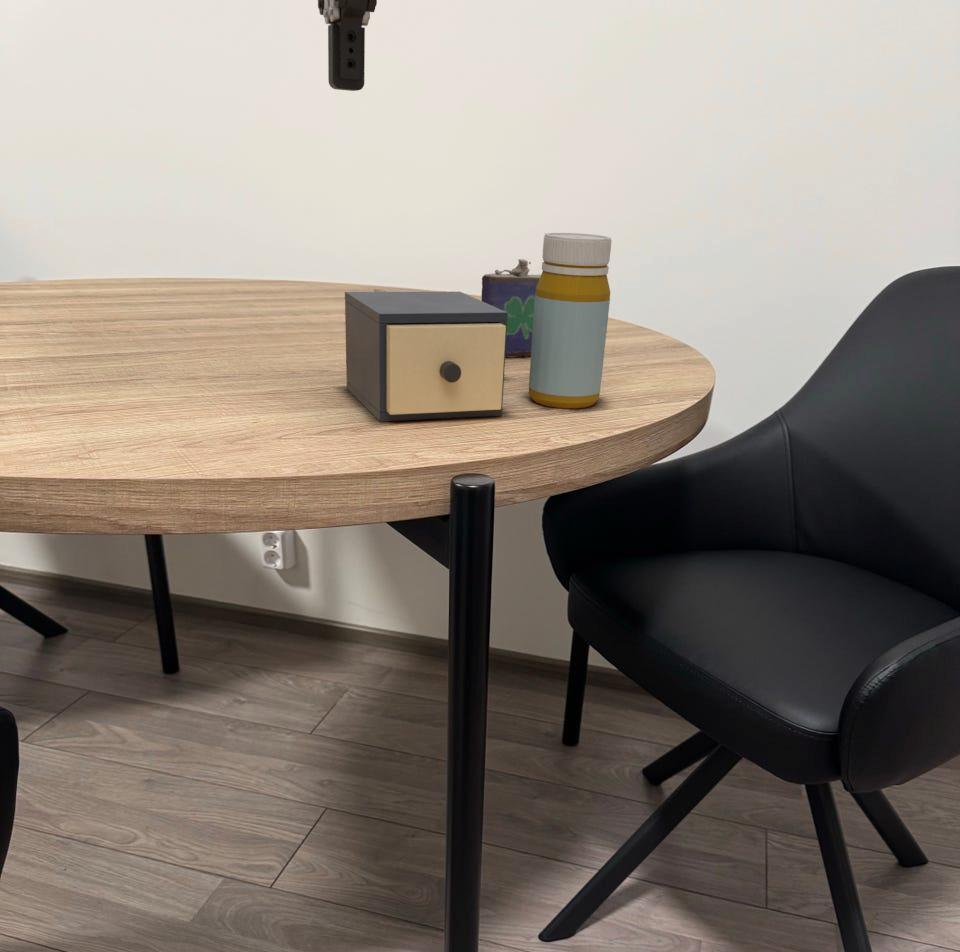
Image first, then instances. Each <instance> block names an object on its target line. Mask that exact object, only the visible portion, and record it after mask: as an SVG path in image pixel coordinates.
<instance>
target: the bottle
mask: <svg viewBox="0 0 960 952" xmlns="http://www.w3.org/2000/svg"><path fill="white" fill-rule="evenodd" d="M542 246H543V247H542V262H541V270H542V271H541V274H540V275H541V277H540V279H539V282H538V284H537V287H536V294H535V304H534V319H533V333H532V347H531V356H530V361H529V376H528V394H529V396H530V397H531V399H532V400H533V401H534V402H535V403H536V404H539V405H541V406H546V407H550V408H551V407H552V408H557V409H583V408H588V407H592V406H593V405H595V403H597V401H598V400H599V399H600V393H601V388H602V378H603V370H604V368H603V367H604V360H605V349H606V340H607V333H608V332H607V330H608V321H609V312H610V303H611V288H610V284H609V278H608V274H609V269H610V268H609V266H608V265H609V262H610V261H611V251H612V237H611V236H606V235H600V234H593V233H591V234H590V233H579V232H578V233H577V232H547V233H544V236H543V245H542Z"/></svg>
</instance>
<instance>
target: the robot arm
mask: <svg viewBox="0 0 960 952" xmlns="http://www.w3.org/2000/svg"><path fill="white" fill-rule="evenodd" d="M377 4H378V0H317V8H318V10H319V15H320V16H323V19H324V23H325V25H327V46H328V47H327V54H328V55H327V57H328V59H327V62H328V63H327V64H328V65H327V66H328V67H327V73H328V85H329V87H331V89H333V90H337V91H338V90H339V91H348V92H349V91H350V92H356V91H357V92H358V91H361V90H362V89H363V88H364V86H365V66H366V65H365V60H366V59H365V57H366V56H365V54H366V53H365V51H366V49H365V47H366V45H365V43H366V27H367V26H369V22H370V19H371V13H374V12H375V11H376V7H377Z"/></svg>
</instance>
